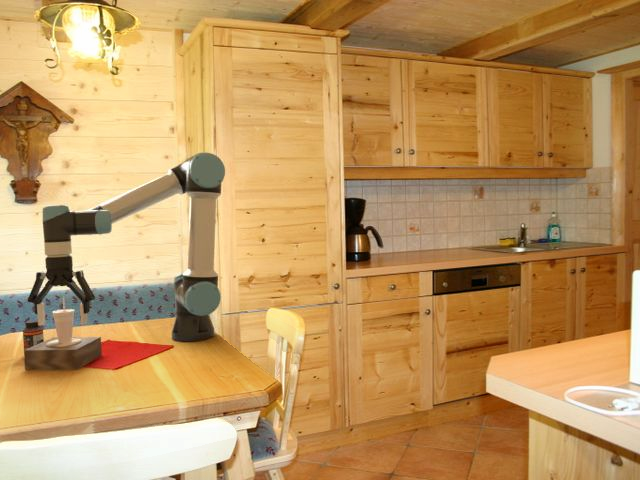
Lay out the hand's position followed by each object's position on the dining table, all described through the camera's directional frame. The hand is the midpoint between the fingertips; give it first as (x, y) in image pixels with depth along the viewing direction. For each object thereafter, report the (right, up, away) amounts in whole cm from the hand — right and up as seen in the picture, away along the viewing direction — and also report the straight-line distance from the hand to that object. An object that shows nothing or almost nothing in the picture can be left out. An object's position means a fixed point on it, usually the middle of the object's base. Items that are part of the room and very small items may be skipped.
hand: (63, 324), depth 176 cm
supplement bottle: (-14, -12, +11) cm, 21 cm away
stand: (0, -12, +1) cm, 12 cm away
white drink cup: (0, -6, 0) cm, 6 cm away
